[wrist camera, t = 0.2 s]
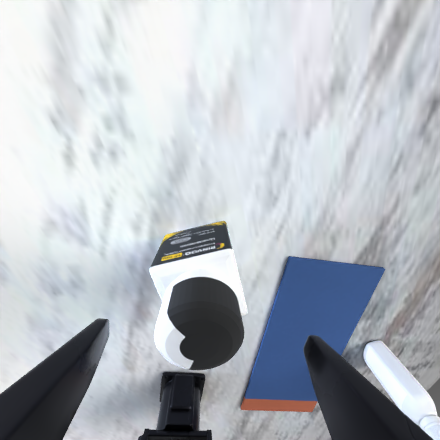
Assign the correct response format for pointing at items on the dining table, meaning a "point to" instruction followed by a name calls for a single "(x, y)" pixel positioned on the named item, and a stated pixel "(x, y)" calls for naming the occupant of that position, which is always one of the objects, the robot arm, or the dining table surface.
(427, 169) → the dining table surface
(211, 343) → the medicine bottle
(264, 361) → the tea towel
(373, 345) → the eye dropper bottle
